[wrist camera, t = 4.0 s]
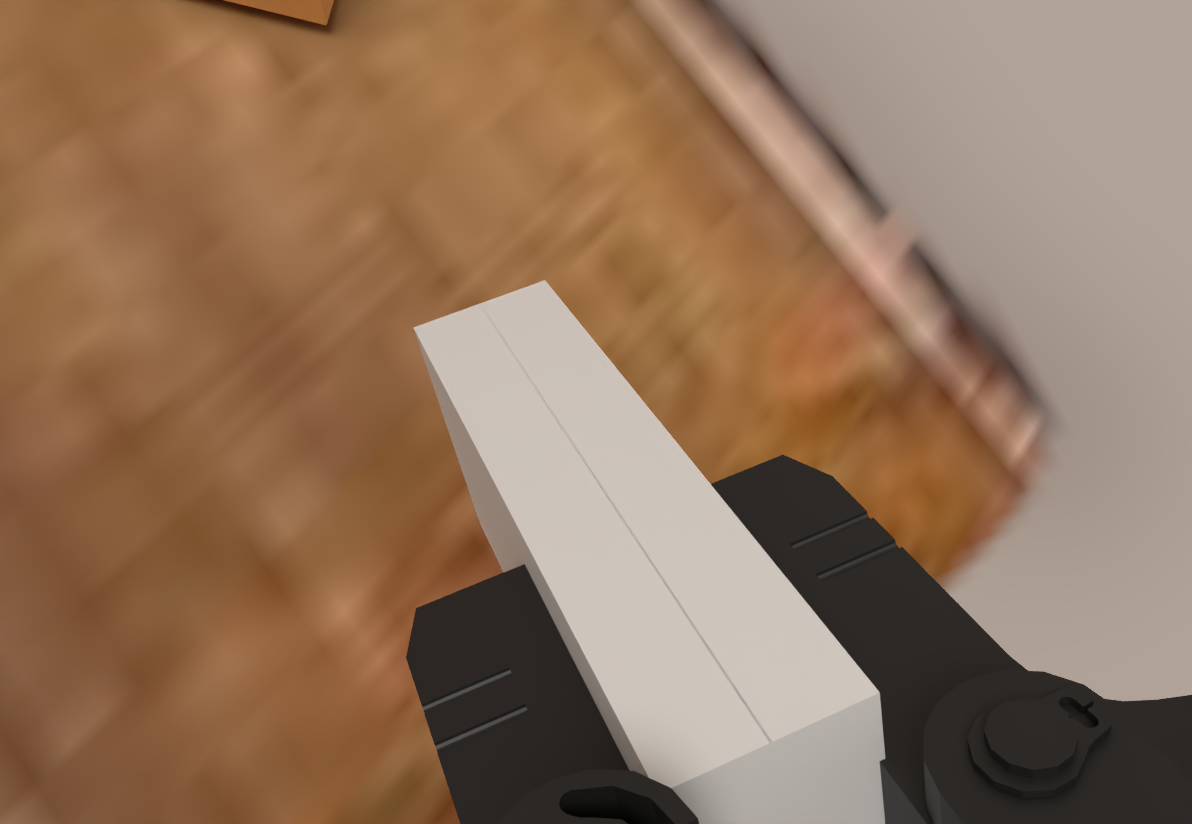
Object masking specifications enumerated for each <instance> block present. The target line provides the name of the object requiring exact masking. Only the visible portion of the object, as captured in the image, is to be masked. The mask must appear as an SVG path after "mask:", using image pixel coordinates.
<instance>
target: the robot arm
mask: <svg viewBox="0 0 1192 824" xmlns="http://www.w3.org/2000/svg"><path fill="white" fill-rule="evenodd" d="M414 331H415V334H416V337H417V340H418V343H419V346H420V349H421V352H422V355H423V358H424V361H425V364H426V366H427V369H428V372H429V375H430V378H431V381H432V384H433V387H434V390H435V393H436V396H437V399H438V402H439V405H440V408H441V411H442V414H443V416H444V419H445V422H446V425H447V428H448V431H449V434H450V437H451V440H452V443H453V446H454V449H455V452H456V455H457V458H458V461H459V464H460V467H461V469H462V472H463V475H464V478H465V481H466V484H467V487H468V490H469V493H470V496H471V499H472V502H473V505H474V508H475V511H476V514H477V517H478V519H479V522H480V524H481V526H482V529H483V531H484V533H485V535H486V537H487V539H488V541H489V543H490V545H491V547H492V550H493V552H494V554H495V556H496V558H497V560H498V562H499V564H500V566H501V568H502V570H503V573H501V574H499V575H497V576H494V577H492V578H489V579H487V580H484V581H482V582H479V583H477V584H475V585H472V586H470V587H467V588H465V589H462V590H460V591H457V592H455V593H452V594H450V595H448V596H445V597H443V598H440V599H438V600H435V601H433V602H430V603H428V604H426V605H423V606H421V607H418V608H416V612H415V617H414V622H413V627H412V632H411V637H410V641H409V646H408V651H407V656H406V659H407V662H408V665H409V668H410V671H411V674H412V677H413V680H414V683H415V686H416V689H417V692H418V695H419V698H420V701H421V704H422V707H423V709H424V712H425V717H426V720H427V723H428V726H429V729H430V732H431V735H432V738H433V741H434V744H435V746H436V749H437V752H438V756H439V759H440V762H441V765H442V768H443V771H444V774H445V778H446V781H447V784H448V787H449V790H450V793H451V796H452V799H453V802H454V805H455V808H456V811H457V814H458V817H459V820H460V823H461V824H1192V695H1188V696H1181V697H1173V698H1166V699H1160V700H1145V701H1116V700H1108V699H1103V698H1102V697H1101V696H1099V695H1098V694H1096V693H1095V692H1093V691H1092V690H1091V689H1089V688H1088V687H1086V686H1085V685H1083V684H1080V683H1077V682H1074V681H1071V680H1068V679H1064V678H1061V677H1058V676H1055V675H1052V674H1049V673H1046V672H1037V671H1036V672H1035V671H1028V670H1026V669H1025V668H1024V667H1023V666H1021V665H1020V664H1019V663H1018V662H1016V661H1015V660H1014V659H1013V658H1011V657H1010V656H1009V655H1008V654H1007V653H1006V652H1005V651H1004V650H1003V649H1002V648H1001V647H1000V646H999V645H998V644H997V643H996V642H995V641H994V640H993V639H992V638H991V637H990V636H989V635H988V634H987V633H986V632H985V631H984V630H983V629H982V628H981V627H980V626H979V625H978V624H977V623H976V622H975V620H974V619H973V618H972V617H971V616H969V614H968V613H966V611H965V610H964V609H963V608H962V607H961V606H960V605H959V604H958V603H957V602H956V601H955V600H954V599H953V598H952V597H951V596H950V595H949V594H948V593H947V592H946V591H945V590H944V589H943V588H942V587H941V586H940V585H939V584H938V583H937V582H936V581H935V580H934V579H933V578H932V577H931V576H930V575H929V574H928V573H927V572H926V571H925V570H924V569H923V568H922V567H921V566H920V565H919V564H918V563H917V562H916V561H915V560H914V559H913V558H912V557H911V556H910V555H909V554H908V553H907V552H906V551H905V549H904V548H903V547H901V548H898V546H897V545H896V543H895V539H894V538H893V537H892V536H891V535H890V534H889V533H888V532H887V531H886V530H885V529H884V528H883V527H882V526H881V525H880V524H879V523H878V522H877V521H876V520H875V519H874V518H872V519H870V518H869V517H868V514H867V511H866V510H865V509H864V508H863V507H862V506H861V505H860V504H859V503H858V502H857V501H856V500H855V499H854V498H853V497H852V496H851V495H850V494H849V493H848V492H847V491H846V490H845V489H844V488H843V487H842V486H841V485H840V484H839V483H838V482H837V481H836V480H835V478H834V477H833V476H830V475H828V474H826V473H824V472H821V471H819V470H817V469H814V468H812V467H810V466H807V465H805V464H803V463H801V462H798V461H796V460H794V459H791V458H789V457H787V456H784V455H781V456H779V457H776V458H774V459H771V460H769V461H766V462H764V463H761V464H759V465H756V466H754V467H752V468H749V469H747V470H744V471H742V472H739V473H737V474H734V475H732V476H729V477H727V478H725V479H722V480H720V481H717V482H715V483H712V484H710V483H709V482H708V480H707V479H706V478H705V477H704V476H703V474H702V473H701V472H700V471H699V469H698V468H697V467H696V466H695V464H694V463H693V462H692V461H691V460H690V458H689V457H688V456H687V455H686V453H685V452H684V451H683V450H682V448H681V447H680V446H679V445H678V444H677V442H676V441H675V440H674V439H673V437H672V436H671V435H670V434H669V432H668V431H667V430H666V429H665V428H664V426H663V425H662V424H661V423H660V421H659V420H658V419H657V418H656V416H655V415H654V414H653V413H652V411H651V410H650V409H649V408H648V407H647V405H646V404H645V403H644V402H643V400H642V399H641V398H640V397H639V395H638V394H637V393H636V392H635V391H634V389H633V388H632V387H631V386H630V384H629V383H628V382H627V381H626V379H625V378H624V377H623V376H622V375H621V373H620V372H619V371H618V370H617V368H616V367H615V366H614V365H613V363H612V362H611V361H610V360H609V359H608V357H607V356H606V355H605V354H604V352H603V351H602V350H601V349H600V347H599V346H598V345H597V344H596V343H595V341H594V340H593V339H592V338H591V336H590V335H589V334H588V333H587V331H586V330H585V329H584V328H583V327H582V325H581V324H580V323H579V322H578V320H577V319H576V318H575V317H574V315H573V314H572V313H571V312H570V311H569V309H568V308H567V307H566V306H565V304H564V303H563V302H562V301H561V299H560V298H559V297H558V296H557V295H556V293H555V292H554V291H553V290H552V288H551V287H550V286H549V285H548V283H547V282H546V281H545V280H544V281H541V282H539V283H536V284H533V285H530V286H528V287H525V288H522V289H519V290H517V291H514V292H511V293H508V294H505V295H503V296H500V297H497V298H494V299H492V300H489V301H486V302H483V303H480V304H478V305H475V306H472V307H469V308H467V309H464V310H461V311H458V312H455V313H453V314H450V315H447V316H444V317H442V318H439V319H436V320H433V321H430V322H428V323H425V324H422V325H419V326H417V327H414Z"/></svg>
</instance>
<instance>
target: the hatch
mask: <svg viewBox="0 0 1192 824" xmlns="http://www.w3.org/2000/svg"><path fill="white" fill-rule="evenodd" d="M225 1H229V2H233V3H237V4H241V5H245V6H249V7H254V8H258V9H262V10H266V11H270V12H274V13H278V14H282V15H286V16H290V17H294V18H298V19H302V20H306V21H310V22H315V23H319V24H323V25H327V22H328V19H329V15H330V12H331V9H332V5H333V2H334V0H225Z"/></svg>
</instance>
